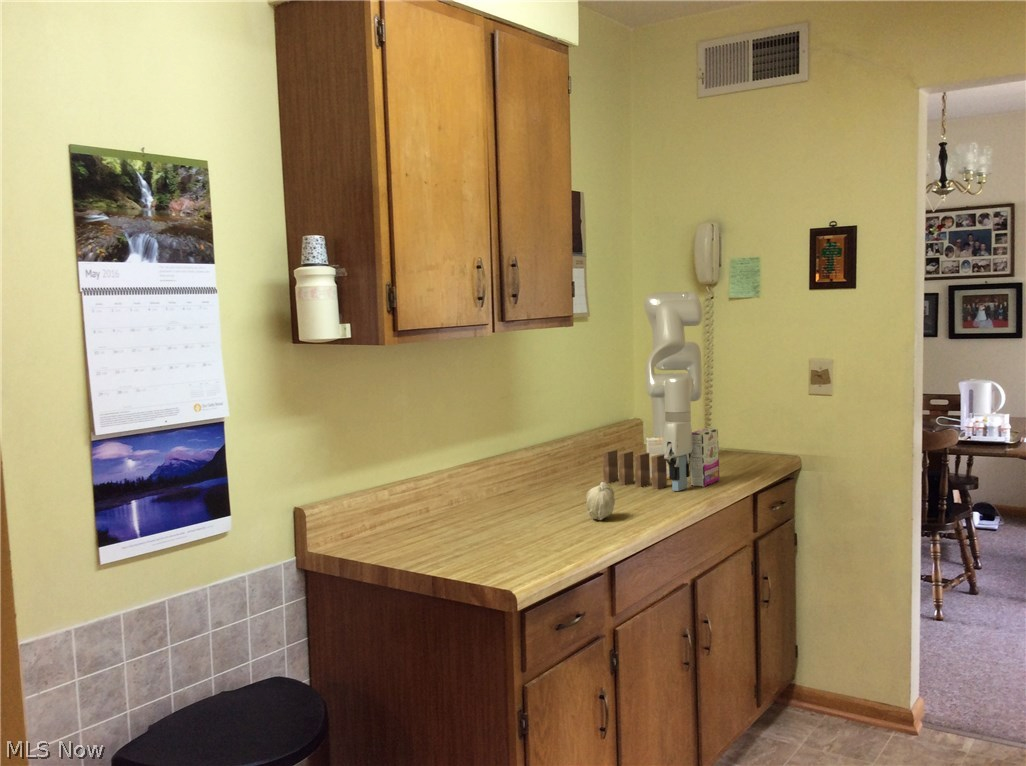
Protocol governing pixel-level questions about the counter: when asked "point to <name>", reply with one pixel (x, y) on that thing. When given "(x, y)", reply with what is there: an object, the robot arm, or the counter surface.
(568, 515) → the counter surface
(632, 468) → the domino
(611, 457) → the domino
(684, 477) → the domino
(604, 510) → the garlic bulb
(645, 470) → the domino
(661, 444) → the supplement box
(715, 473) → the candy bar box
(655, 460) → the domino
